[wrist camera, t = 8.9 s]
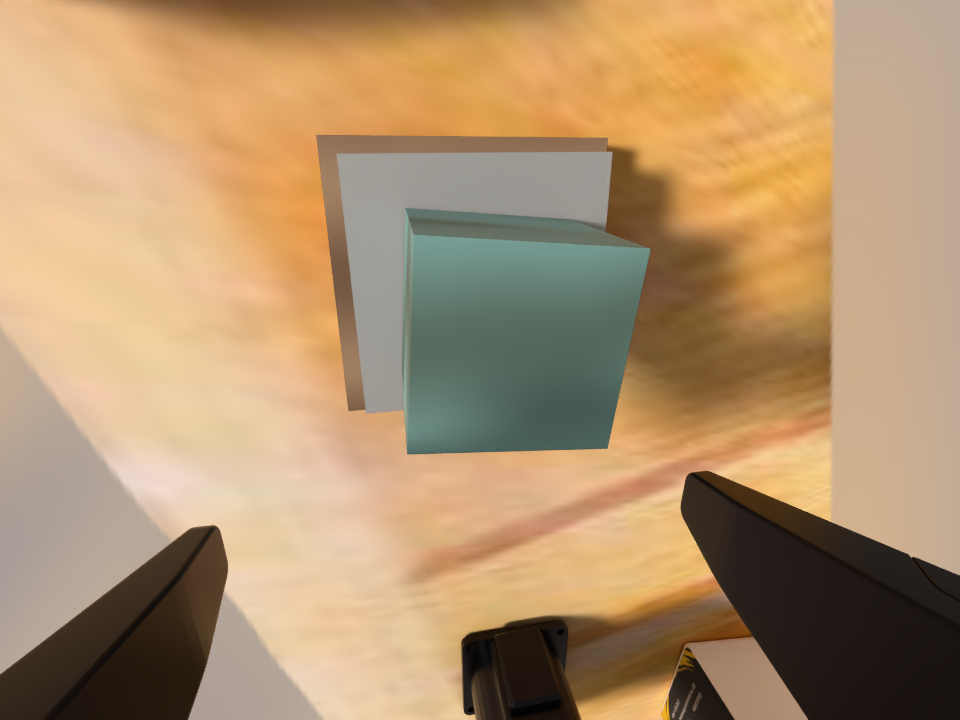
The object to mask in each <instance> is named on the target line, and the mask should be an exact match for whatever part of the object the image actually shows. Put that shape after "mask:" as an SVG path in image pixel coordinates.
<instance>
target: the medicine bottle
mask: <svg viewBox="0 0 960 720" xmlns="http://www.w3.org/2000/svg"><path fill="white" fill-rule="evenodd" d="M661 715H662V717H663V719H664V720H808V719H807V717H806V716H805V714H804V713H803V711H802V710H801V708H800V707H799V705H798V704H797V702H796V701H795V699H794V698H793V696H792V695H791V693H790V692H789V690H788V689H787V687H786V686H785V684H784V682H783V681H782V679H781V678H780V676H779V675H778V673H777V672H776V670H775V669H774V667H773V666H772V664H771V663H770V661H769V660H768V658H767V657H766V655H765V654H764V652H763V651H762V649H761V648H760V646H759V645H758V643H757V642H756V640H755V639H754V637H745V638H735V639H725V640H714V641H704V642H694V643H686V644H685V645H684V648H683V650H682V653H681V656H680V659H679V661H678V664H677V667H676V670H675V672H674V675H673V678H672V681H671V683H670V686H669V689H668V692H667V694H666V697H665V700H664V703H663V705H662V708H661Z"/></svg>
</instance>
